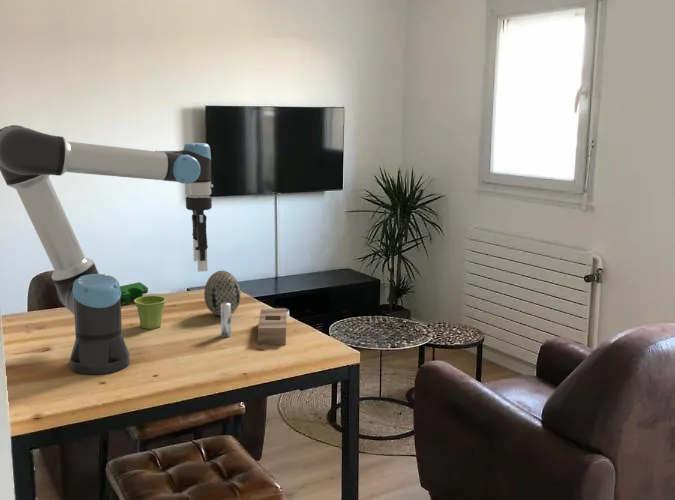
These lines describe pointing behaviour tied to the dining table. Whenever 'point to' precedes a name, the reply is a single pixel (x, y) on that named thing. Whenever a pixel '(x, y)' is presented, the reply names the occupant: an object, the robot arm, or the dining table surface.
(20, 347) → the dining table surface
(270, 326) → the hole block
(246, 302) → the dining table surface
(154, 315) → the plant pot
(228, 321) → the steel peg
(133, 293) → the clamp
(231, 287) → the decorative egg
